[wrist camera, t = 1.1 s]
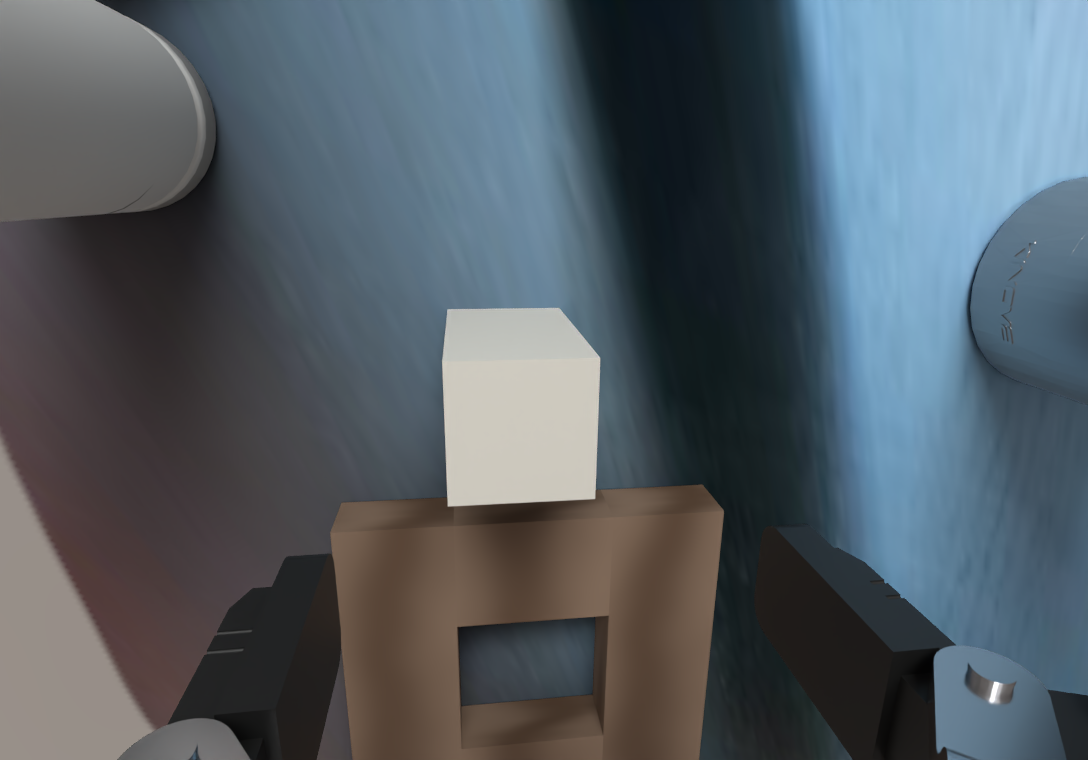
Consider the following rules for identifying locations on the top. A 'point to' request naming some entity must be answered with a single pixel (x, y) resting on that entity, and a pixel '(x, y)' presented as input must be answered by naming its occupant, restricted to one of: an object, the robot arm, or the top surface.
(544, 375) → the peg
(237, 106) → the top surface
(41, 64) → the travel mug
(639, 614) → the socket base
